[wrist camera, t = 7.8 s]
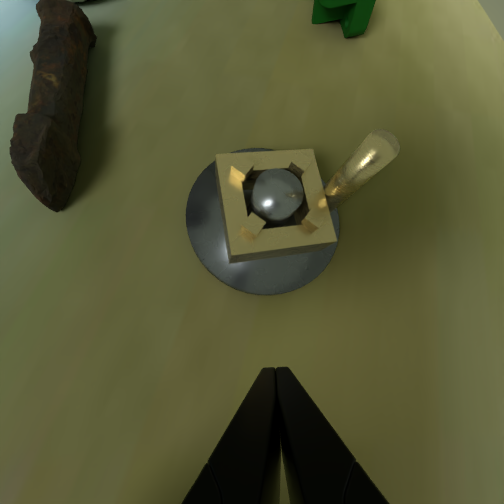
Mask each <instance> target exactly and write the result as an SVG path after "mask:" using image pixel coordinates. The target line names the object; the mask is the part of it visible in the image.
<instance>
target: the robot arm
mask: <svg viewBox="0 0 504 504" xmlns="http://www.w3.org/2000/svg"><path fill="white" fill-rule="evenodd" d="M280 438H281V440H280ZM281 449H282V457H283V463H284V469H285V475H286V481H287V487H288V493H289V498H290V504H389V502H388V501H387V500H386V499H385V497H384V496H383V495H382V493H381V492H380V491H379V490H378V488H377V487H376V486H375V484H374V483H373V482H372V480H371V479H370V478H369V476H368V475H367V474H366V472H365V471H364V470H363V468H362V467H361V465H360V464H359V463H358V462H356V459H355V457H354V456H353V455H352V453H351V452H350V451H349V449H348V448H347V447H346V445H345V444H344V442H343V441H342V440H341V438H340V437H339V436H338V434H337V433H336V431H335V430H334V429H333V427H332V426H331V425H330V423H329V422H328V421H327V419H326V418H325V416H324V415H323V414H322V412H321V411H320V410H319V408H318V407H317V406H316V404H315V403H314V401H313V400H312V399H311V397H310V396H309V395H308V393H307V392H306V390H305V389H304V388H303V386H302V385H301V384H300V382H299V381H298V380H297V378H296V377H295V375H294V374H293V373H292V371H291V370H290V369H289V368H288V367H277V368H276V370H275V368H274V367H269V368H263V369H262V370H261V371H260V373H259V375H258V377H257V378H256V380H255V382H254V383H253V385H252V387H251V388H250V390H249V392H248V393H247V395H246V397H245V399H244V400H243V402H242V404H241V405H240V407H239V409H238V410H237V412H236V414H235V415H234V417H233V419H232V420H231V422H230V424H229V426H228V427H227V429H226V431H225V432H224V434H223V436H222V437H221V439H220V441H219V442H218V444H217V446H216V448H215V449H214V451H213V453H212V454H211V456H210V458H209V459H208V463H206V464H205V466H204V467H203V469H202V471H201V473H200V474H199V476H198V478H197V479H196V481H195V483H194V484H193V486H192V487H191V489H190V491H189V492H188V494H187V495H186V497H185V499H184V500H183V502H182V503H181V504H279V497H280V470H281Z"/></svg>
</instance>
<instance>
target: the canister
mask: <svg viewBox="0 0 504 504" xmlns="http://www.w3.org/2000/svg"><path fill="white" fill-rule="evenodd" d="M67 1H71V2H74V3H75V2H83V1H85V0H67Z"/></svg>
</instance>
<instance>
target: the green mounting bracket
mask: <svg viewBox="0 0 504 504" xmlns="http://www.w3.org/2000/svg"><path fill="white" fill-rule="evenodd" d="M375 1H376V0H314V6H313V14H312V24H319V23H324V22H328V21H333V20H338V19H339V20H340V24H341V27H342V30H343V34H344V37H345V38H347V37H352V36H357V35H362V34H364V32H365V30H366V28H367V25H368V22H369V19H370V16H371V13H372V10H373V7H374V4H375Z"/></svg>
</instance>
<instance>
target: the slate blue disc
mask: <svg viewBox="0 0 504 504" xmlns="http://www.w3.org/2000/svg"><path fill="white" fill-rule="evenodd" d="M262 151H276V150H271V149H264V148H251V149H243V150H238V151H234V152H232V153H244V152H262ZM321 182H322V185H323V187H324V186H325V185H326V184H325V183H324V181H323V180H322V179H321ZM243 194H244V199H245V205H246V210H247V216H249V215H250V214H251V213H254V214H255V215H257V216H258V217H259V218H261V219H262V220H264V221H265V222H266V224H265V225H264V227H263V228H262V229H270V228H279V227H287V226H295V225H296V221H295V217H294V212H295V211H296V210H297V208H298V207H299V206H300V204H301V203H302V200H303V195H304V194H303V187H302V185H301V183H300V181H299V180H298V178H297V177H296V176H295V175H294V174H292V173H291V172H289V171H287V170H284V169H279V168H274V169H269V170H266V171H264V172H263V173H261V174H260V175H259V177H258V178H257V180H256V182H255V185H254V189H252V190H243ZM330 216H331V219H332V223H333V227H334V231H335V234H336V238H337V242H338V237H339V216H338V211H337V208H336V209H335V210H333V211H332V212H331V213H330ZM186 225H187V230H188V235H189V238H190V241H191V244H192V247H193V249H194V251H195V253H196V255H197V257H198V258H199V259H200V261H201V262H202V264H203V265H204V266H205V267H206V269H207V270H208V271H209V272H210V273H211V274H212V275H214V276H215V277H216V278H217V279H218V280H220V281H221V282H223V283H225V284H226V285H228V286H230V287H232V288H234V289H236V290H239V291H242V292H245V293H250V294H255V295H276V294H282V293H286V292H290V291H293V290H295V289H298V288H301V287H302V286H304V285H306V284H308V283H309V282H311V281H312V280H313V279H315V278H316V277H317V276H318V275H319V274H320V273H321V272H322V271H323V270H324V269H325V267H326V266H327V265H328V263H329V262H330V260H331V258H332V256H333V254H334V252H335V249H336V246H337V242H335V243H333V244H331V245H330V246H328V247H326V248H324V249H323V250H321V251H317V252H310V253H303V254H296V255H289V256H282V257H275V258H268V259H261V260H254V261H247V262H240V263H233V264H229V260H228V254H227V247H226V241H225V235H224V228H223V222H222V215H221V209H220V202H219V196H218V189H217V183H216V176H215V161H214V162H213V163H211V164H210V165H209V166H208V167H207V168H206V169H205V170H204V171H203V172H202V173H201V174H200V175H199V177H198V178H197V180H196V181H195V183H194V185H193V187H192V189H191V192H190V194H189V198H188V201H187V208H186Z"/></svg>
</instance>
